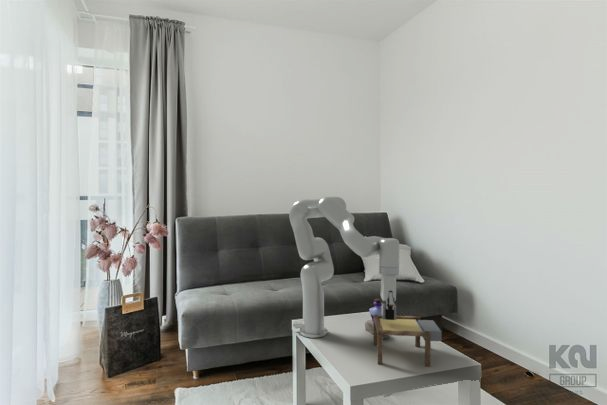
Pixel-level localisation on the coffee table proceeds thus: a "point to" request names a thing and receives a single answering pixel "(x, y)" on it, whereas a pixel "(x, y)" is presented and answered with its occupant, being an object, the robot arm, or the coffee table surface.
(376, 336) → the frame
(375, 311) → the potion bottle
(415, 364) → the coffee table surface
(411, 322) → the trapdoor
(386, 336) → the concrete fragment
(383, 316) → the smooth grey cube
